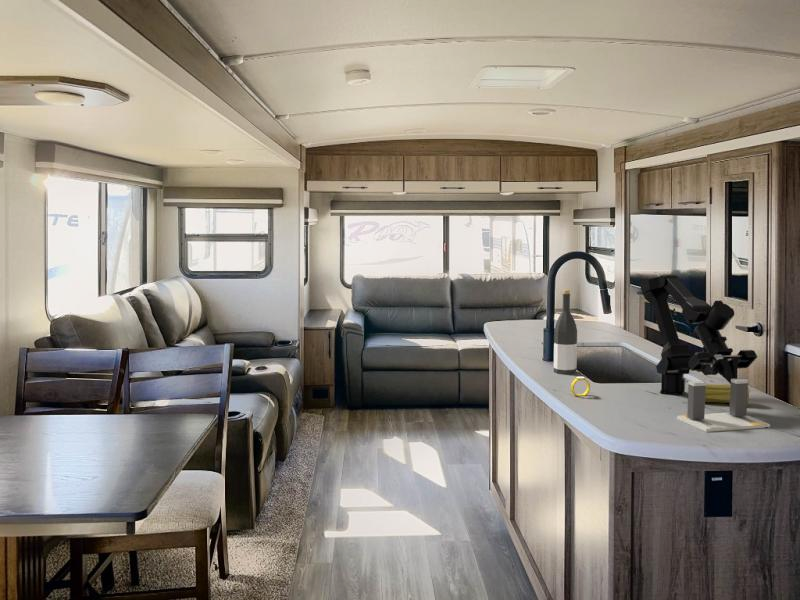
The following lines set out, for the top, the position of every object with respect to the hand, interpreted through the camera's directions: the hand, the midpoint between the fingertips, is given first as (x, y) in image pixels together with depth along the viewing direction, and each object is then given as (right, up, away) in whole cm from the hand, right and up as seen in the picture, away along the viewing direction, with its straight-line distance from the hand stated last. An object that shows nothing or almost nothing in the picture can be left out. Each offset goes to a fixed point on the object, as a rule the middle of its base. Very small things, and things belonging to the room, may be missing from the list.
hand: (735, 385), depth 203 cm
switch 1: (-12, -9, -3) cm, 15 cm away
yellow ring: (-36, -7, +27) cm, 46 cm away
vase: (+11, -4, +15) cm, 19 cm away
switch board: (-5, -10, -4) cm, 12 cm away
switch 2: (0, -8, -1) cm, 8 cm away
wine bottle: (-33, -3, +63) cm, 71 cm away
